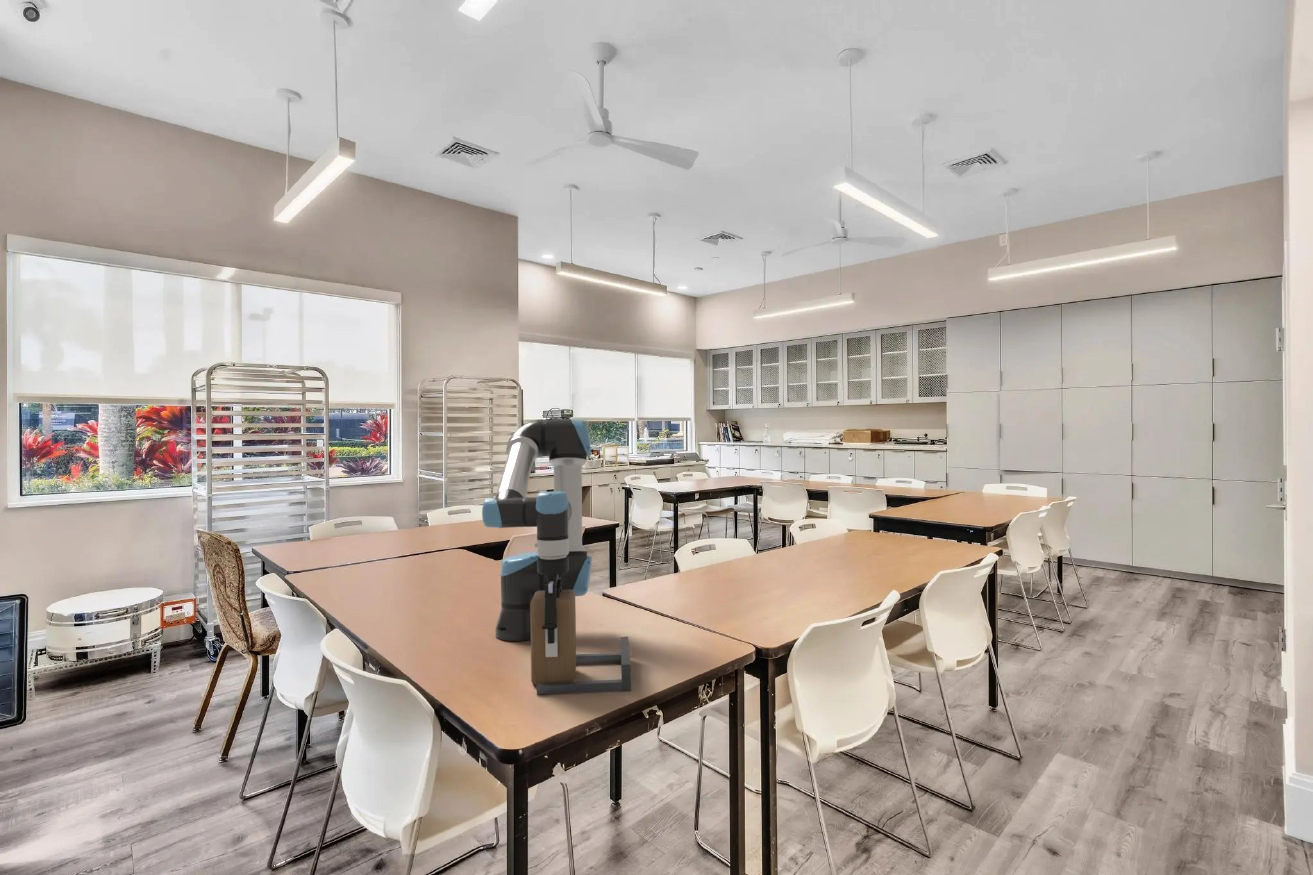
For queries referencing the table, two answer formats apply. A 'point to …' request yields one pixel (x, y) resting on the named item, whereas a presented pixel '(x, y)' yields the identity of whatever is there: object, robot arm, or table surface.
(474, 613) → the table surface
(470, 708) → the table surface
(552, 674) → the wooden block
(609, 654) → the end stop channel
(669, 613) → the table surface
